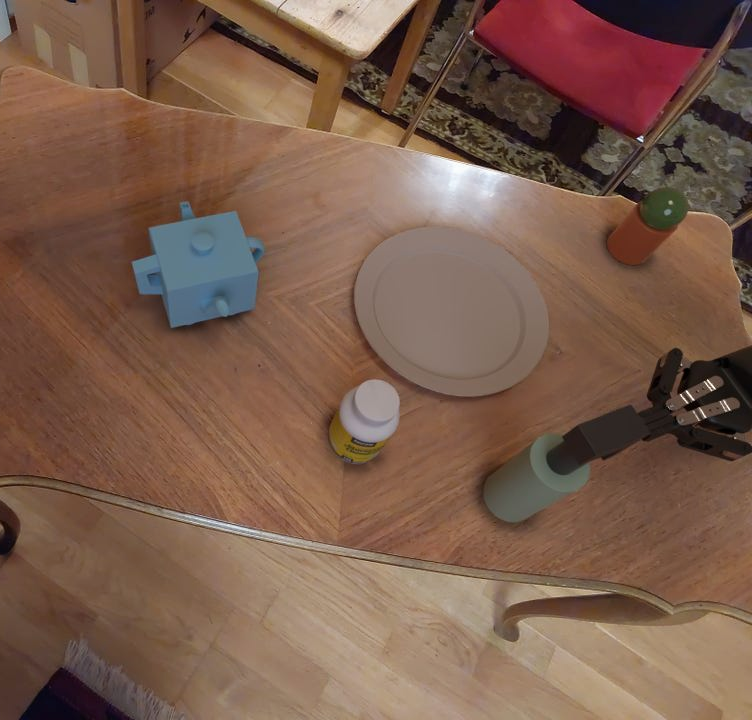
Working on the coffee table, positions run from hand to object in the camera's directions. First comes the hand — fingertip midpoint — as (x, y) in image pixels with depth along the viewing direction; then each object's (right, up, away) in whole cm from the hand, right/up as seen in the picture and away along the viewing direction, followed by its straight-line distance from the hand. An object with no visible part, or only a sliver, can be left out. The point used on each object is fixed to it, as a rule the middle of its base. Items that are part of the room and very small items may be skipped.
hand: (635, 430), depth 65 cm
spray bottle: (-8, -8, +10) cm, 15 cm away
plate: (-13, +13, +21) cm, 28 cm away
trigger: (-3, -2, +2) cm, 4 cm away
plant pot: (+15, +23, +29) cm, 40 cm away
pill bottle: (-27, -2, +12) cm, 29 cm away
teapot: (-45, +15, +19) cm, 51 cm away
